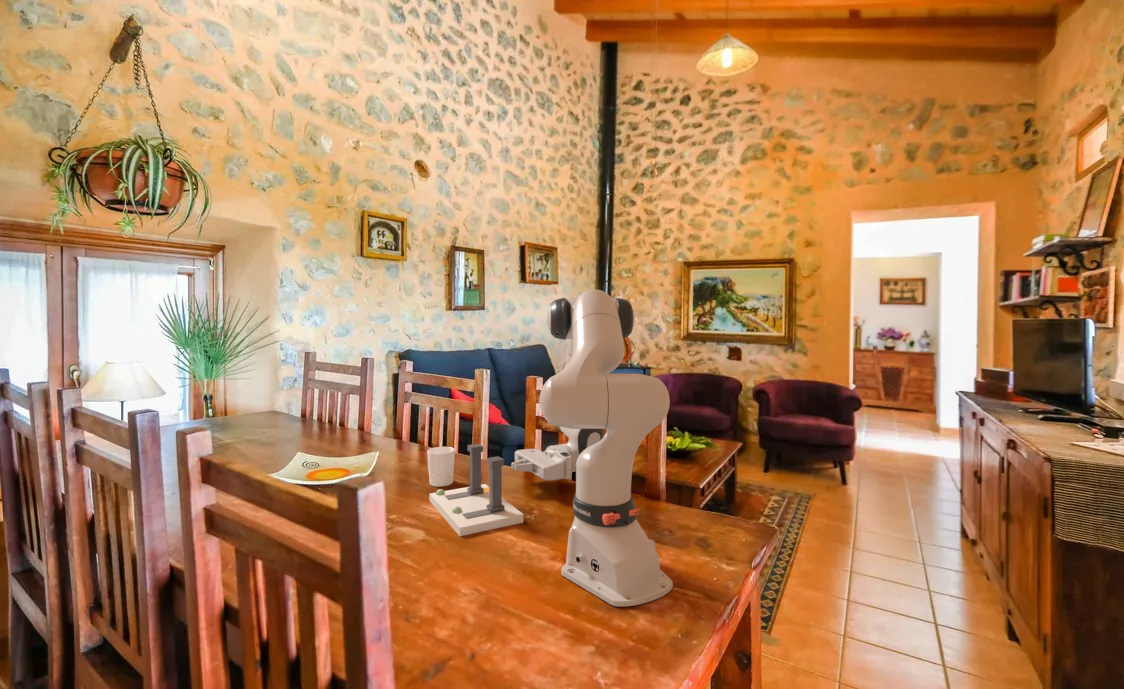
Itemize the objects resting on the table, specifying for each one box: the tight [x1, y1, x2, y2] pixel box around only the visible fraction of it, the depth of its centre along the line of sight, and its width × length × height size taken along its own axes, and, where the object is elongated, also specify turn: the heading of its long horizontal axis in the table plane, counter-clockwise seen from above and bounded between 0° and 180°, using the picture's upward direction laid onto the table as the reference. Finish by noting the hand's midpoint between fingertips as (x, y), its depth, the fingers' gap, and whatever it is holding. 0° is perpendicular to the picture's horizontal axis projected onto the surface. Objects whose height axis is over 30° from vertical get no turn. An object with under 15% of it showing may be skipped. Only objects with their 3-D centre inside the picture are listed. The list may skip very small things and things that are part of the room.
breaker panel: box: [428, 483, 524, 537], centre depth 131 cm, size 25×16×3 cm, turn 30°
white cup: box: [426, 446, 456, 488], centre depth 152 cm, size 8×8×10 cm
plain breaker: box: [486, 455, 505, 512], centre depth 126 cm, size 3×4×12 cm
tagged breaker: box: [467, 443, 484, 494], centre depth 138 cm, size 3×4×12 cm
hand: (513, 467), depth 144 cm, fingers closed
